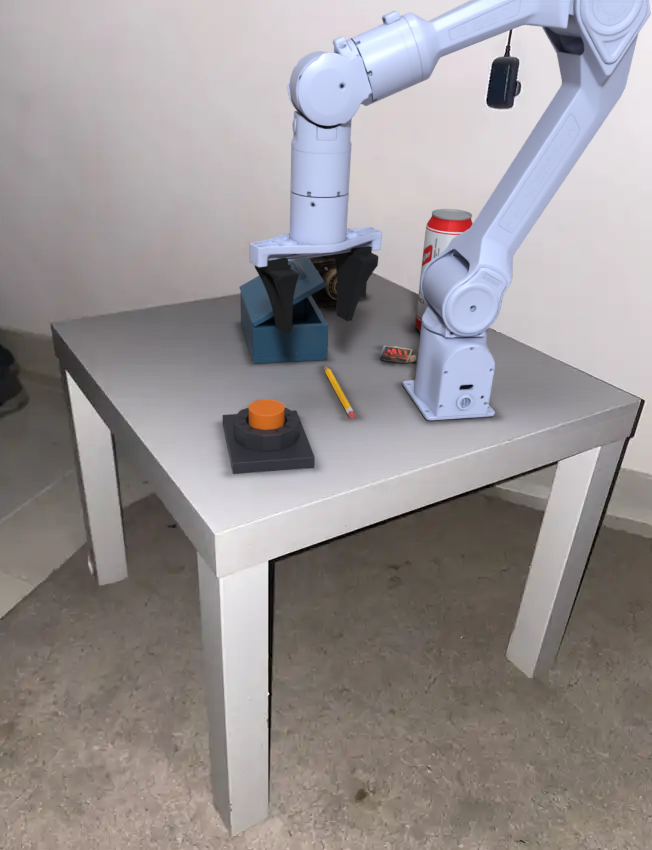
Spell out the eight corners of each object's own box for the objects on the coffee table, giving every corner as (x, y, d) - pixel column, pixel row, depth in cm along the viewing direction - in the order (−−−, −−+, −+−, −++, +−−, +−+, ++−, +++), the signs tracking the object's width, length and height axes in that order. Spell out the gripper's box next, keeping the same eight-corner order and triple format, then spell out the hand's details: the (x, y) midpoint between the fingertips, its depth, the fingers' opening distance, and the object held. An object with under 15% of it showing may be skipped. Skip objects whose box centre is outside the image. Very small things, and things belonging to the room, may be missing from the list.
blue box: (307, 321, 109) (308, 289, 106) (327, 360, 98) (328, 324, 95) (240, 324, 107) (240, 291, 105) (253, 363, 96) (253, 328, 94)
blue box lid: (305, 254, 104) (289, 223, 101) (326, 286, 93) (309, 252, 90) (241, 291, 105) (224, 261, 102) (254, 327, 94) (235, 295, 91)
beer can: (462, 326, 109) (478, 210, 101) (457, 342, 104) (474, 221, 96) (417, 320, 110) (430, 205, 102) (411, 336, 105) (424, 216, 97)
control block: (314, 467, 76) (315, 441, 74) (232, 473, 74) (232, 446, 73) (296, 419, 84) (296, 395, 82) (222, 424, 82) (221, 399, 81)
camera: (280, 320, 109) (281, 265, 105) (261, 305, 114) (261, 251, 110) (379, 305, 116) (384, 252, 111) (357, 291, 121) (360, 240, 116)
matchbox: (380, 363, 97) (381, 359, 97) (378, 347, 101) (378, 343, 101) (417, 364, 97) (418, 361, 97) (413, 348, 101) (413, 345, 101)
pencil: (348, 418, 85) (349, 413, 84) (321, 368, 96) (322, 363, 95) (355, 418, 85) (356, 412, 84) (328, 368, 96) (328, 363, 95)
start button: (287, 430, 76) (287, 414, 76) (251, 432, 76) (250, 416, 75) (281, 413, 79) (281, 398, 79) (246, 415, 79) (246, 400, 78)
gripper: (358, 177, 81) (350, 302, 88) (234, 189, 75) (236, 322, 82) (398, 191, 76) (386, 322, 83) (268, 205, 70) (268, 345, 77)
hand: (314, 323), depth 82 cm, fingers open, 7 cm apart
